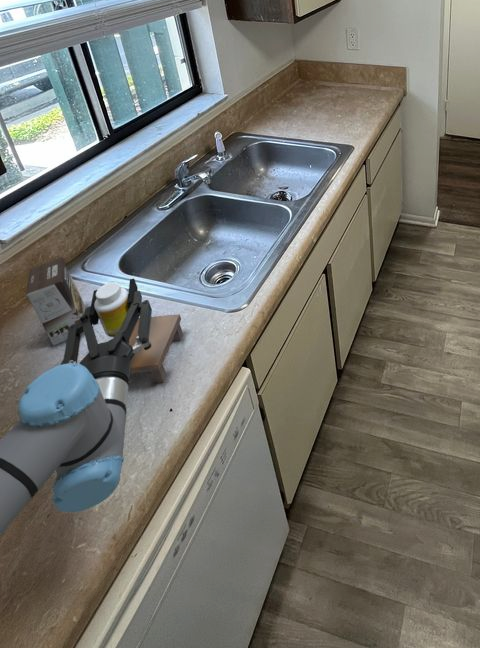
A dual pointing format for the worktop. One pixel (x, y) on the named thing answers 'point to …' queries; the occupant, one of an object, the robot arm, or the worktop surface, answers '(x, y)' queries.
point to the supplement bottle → (111, 307)
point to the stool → (156, 345)
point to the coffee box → (55, 298)
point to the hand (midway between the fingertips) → (116, 289)
